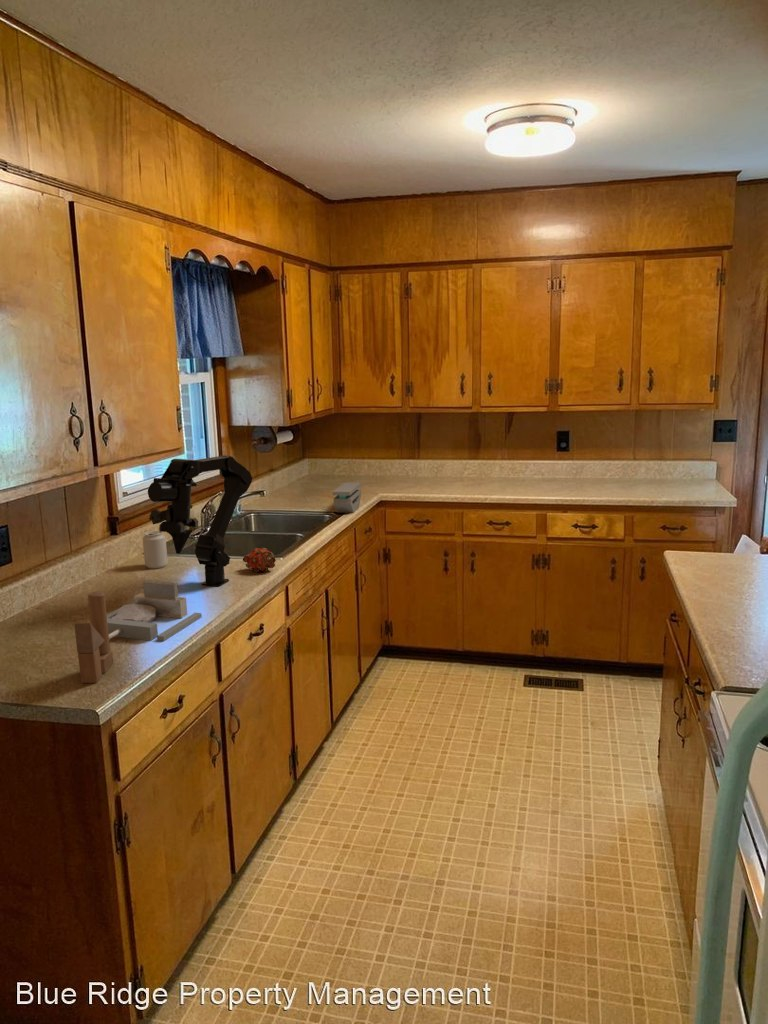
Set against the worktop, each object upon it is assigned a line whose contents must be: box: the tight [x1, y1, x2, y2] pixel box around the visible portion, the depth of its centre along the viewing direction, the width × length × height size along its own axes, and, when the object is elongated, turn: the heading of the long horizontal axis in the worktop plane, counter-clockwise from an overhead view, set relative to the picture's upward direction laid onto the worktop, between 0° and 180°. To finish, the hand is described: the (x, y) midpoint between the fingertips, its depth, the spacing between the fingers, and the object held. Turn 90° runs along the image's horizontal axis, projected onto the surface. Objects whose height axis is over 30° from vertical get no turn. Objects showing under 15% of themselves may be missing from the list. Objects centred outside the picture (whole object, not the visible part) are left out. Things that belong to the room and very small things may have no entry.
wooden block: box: [73, 591, 114, 684], centre depth 168 cm, size 4×11×18 cm, turn 0°
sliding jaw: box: [133, 580, 188, 619], centre depth 207 cm, size 3×15×9 cm, turn 73°
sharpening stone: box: [332, 481, 362, 514], centre depth 342 cm, size 25×8×11 cm, turn 170°
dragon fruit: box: [242, 547, 277, 573], centre depth 248 cm, size 8×8×12 cm
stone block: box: [112, 603, 156, 623], centre depth 202 cm, size 12×5×10 cm
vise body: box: [106, 607, 203, 642], centre depth 195 cm, size 29×25×4 cm
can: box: [142, 530, 169, 570], centre depth 255 cm, size 8×8×12 cm
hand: (178, 553), depth 221 cm, fingers closed
